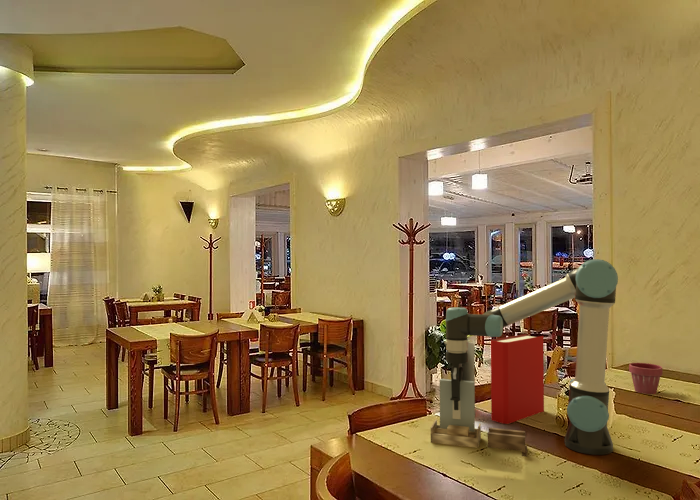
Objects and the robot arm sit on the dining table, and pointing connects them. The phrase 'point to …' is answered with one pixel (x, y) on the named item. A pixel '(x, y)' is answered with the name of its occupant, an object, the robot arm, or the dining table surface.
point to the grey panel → (466, 405)
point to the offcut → (458, 430)
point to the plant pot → (645, 377)
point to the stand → (507, 439)
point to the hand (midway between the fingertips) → (457, 417)
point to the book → (516, 378)
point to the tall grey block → (469, 365)
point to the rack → (454, 437)
